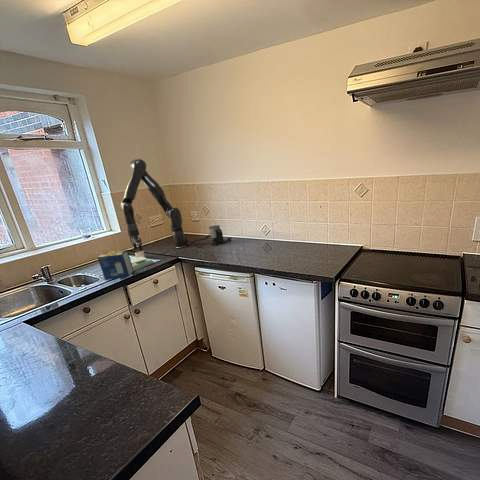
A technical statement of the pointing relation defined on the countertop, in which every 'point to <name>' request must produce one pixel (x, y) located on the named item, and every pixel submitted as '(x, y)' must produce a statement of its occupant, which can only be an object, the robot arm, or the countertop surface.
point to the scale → (140, 262)
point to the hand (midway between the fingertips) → (138, 250)
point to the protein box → (115, 264)
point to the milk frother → (217, 235)
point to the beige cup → (140, 254)
